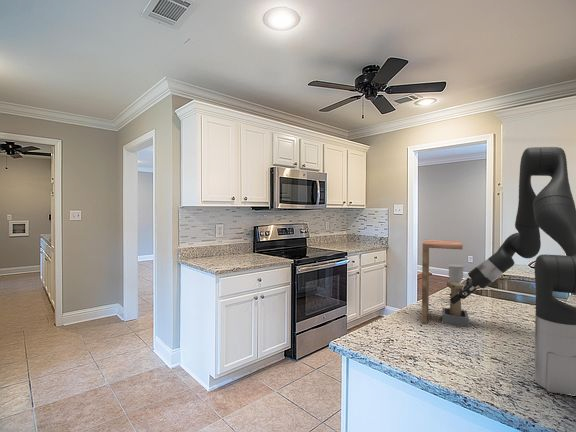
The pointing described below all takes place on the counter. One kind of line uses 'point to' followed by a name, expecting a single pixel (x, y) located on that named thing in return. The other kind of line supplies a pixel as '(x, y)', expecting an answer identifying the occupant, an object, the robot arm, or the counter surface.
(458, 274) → the chalice
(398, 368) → the counter surface
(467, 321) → the socket
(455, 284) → the tan headed rod
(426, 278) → the wooden l-shaped bracket
